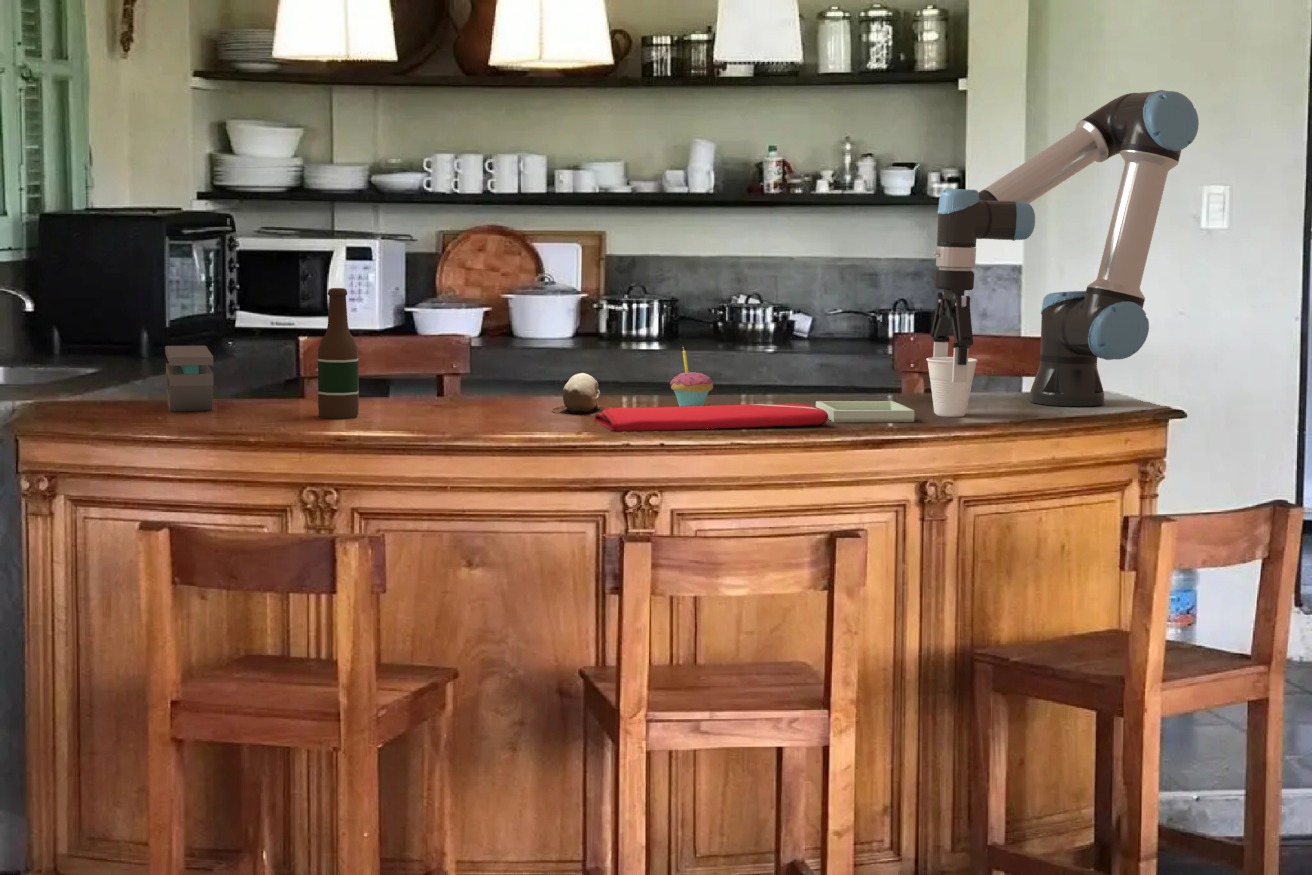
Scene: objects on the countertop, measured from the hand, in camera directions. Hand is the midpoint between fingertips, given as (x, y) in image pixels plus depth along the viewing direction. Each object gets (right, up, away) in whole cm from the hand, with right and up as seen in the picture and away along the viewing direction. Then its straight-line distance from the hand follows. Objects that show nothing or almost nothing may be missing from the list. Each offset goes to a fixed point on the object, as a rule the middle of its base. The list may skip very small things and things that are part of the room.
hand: (949, 378), depth 363 cm
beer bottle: (-117, -8, -15) cm, 118 cm away
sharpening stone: (-147, -6, -3) cm, 148 cm away
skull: (-71, -7, -2) cm, 72 cm away
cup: (0, -7, +1) cm, 7 cm away
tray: (-17, -8, -4) cm, 19 cm away
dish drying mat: (-47, -10, -18) cm, 51 cm away
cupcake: (-50, -6, +8) cm, 51 cm away
